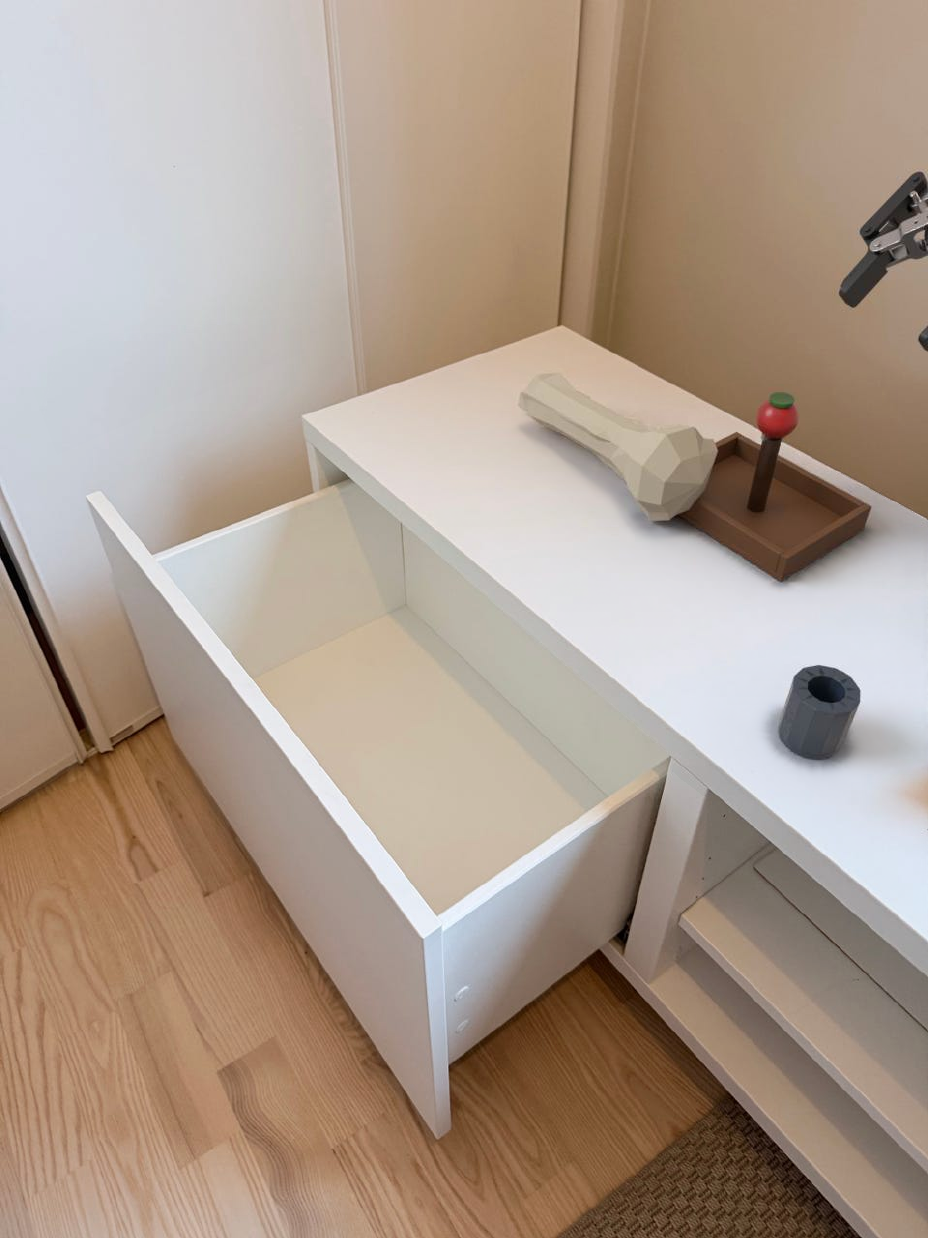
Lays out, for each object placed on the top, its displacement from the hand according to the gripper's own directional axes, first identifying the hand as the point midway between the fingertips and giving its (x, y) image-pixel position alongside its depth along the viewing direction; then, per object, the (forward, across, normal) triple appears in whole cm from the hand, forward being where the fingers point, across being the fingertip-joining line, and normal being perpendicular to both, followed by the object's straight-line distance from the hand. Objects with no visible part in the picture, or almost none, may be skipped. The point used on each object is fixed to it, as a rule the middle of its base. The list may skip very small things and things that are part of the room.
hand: (883, 323), depth 72 cm
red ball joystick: (+16, -4, +10) cm, 19 cm away
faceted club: (+22, -16, +4) cm, 28 cm away
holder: (+26, +19, +1) cm, 32 cm away
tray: (+17, -4, +10) cm, 20 cm away
